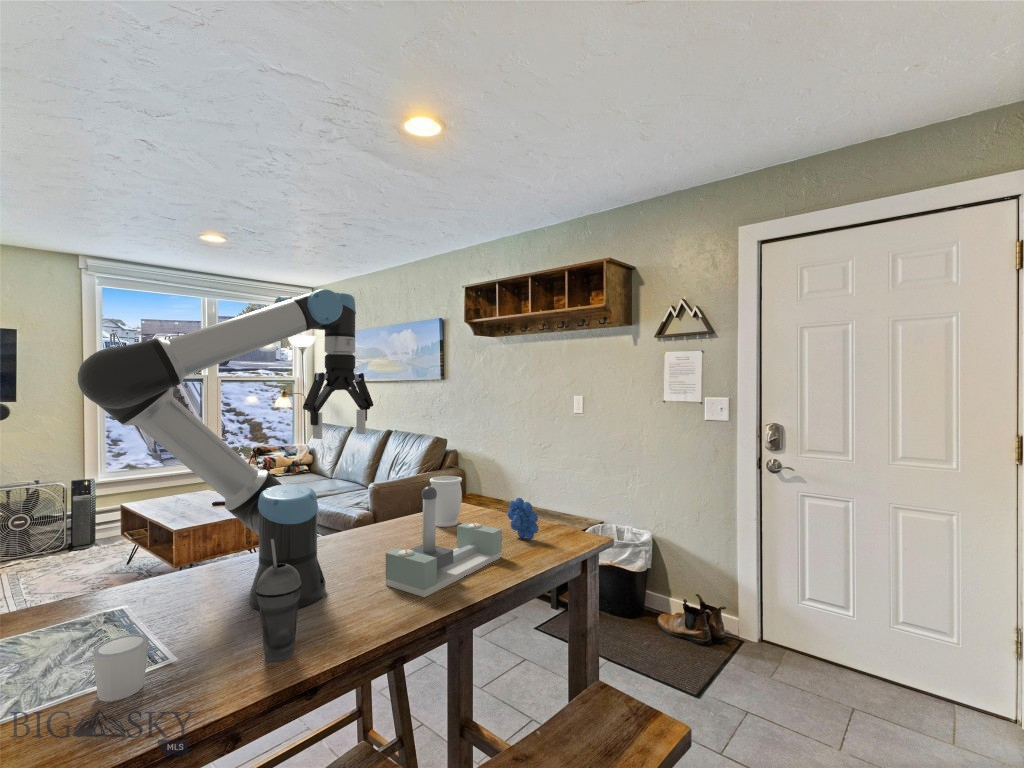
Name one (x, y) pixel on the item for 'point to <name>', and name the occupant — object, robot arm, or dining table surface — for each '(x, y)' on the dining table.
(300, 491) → the robot arm
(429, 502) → the carriage
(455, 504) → the jar
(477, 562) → the rail stand
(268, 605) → the beverage cup
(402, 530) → the dining table surface
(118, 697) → the white cylinder
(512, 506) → the grapes
